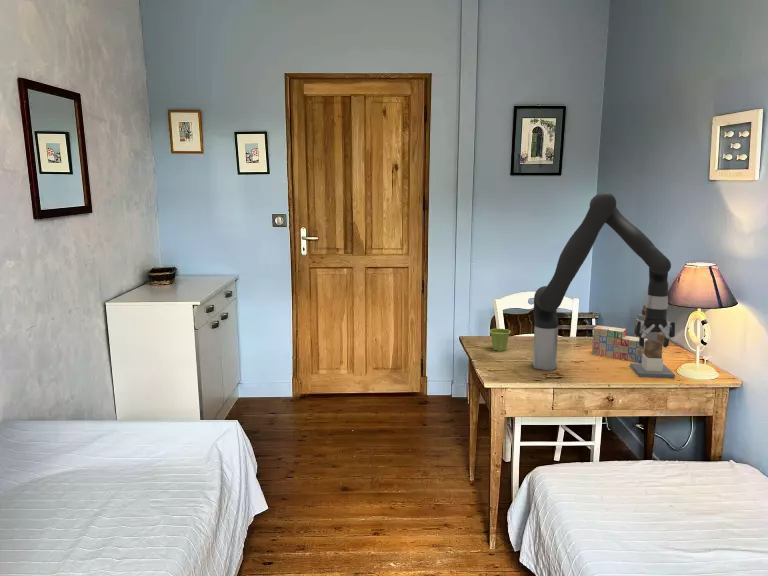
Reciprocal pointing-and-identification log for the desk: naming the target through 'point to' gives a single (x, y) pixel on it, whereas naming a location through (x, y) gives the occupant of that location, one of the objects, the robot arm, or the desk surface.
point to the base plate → (651, 373)
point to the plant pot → (499, 338)
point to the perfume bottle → (641, 318)
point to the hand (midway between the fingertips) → (653, 346)
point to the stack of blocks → (616, 344)
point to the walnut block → (653, 349)
